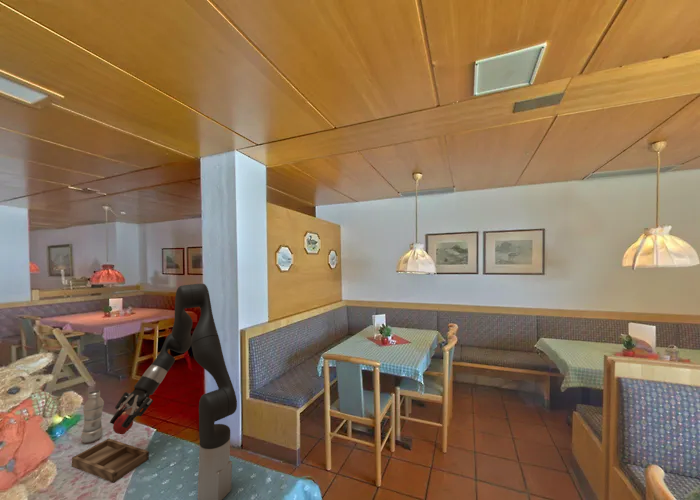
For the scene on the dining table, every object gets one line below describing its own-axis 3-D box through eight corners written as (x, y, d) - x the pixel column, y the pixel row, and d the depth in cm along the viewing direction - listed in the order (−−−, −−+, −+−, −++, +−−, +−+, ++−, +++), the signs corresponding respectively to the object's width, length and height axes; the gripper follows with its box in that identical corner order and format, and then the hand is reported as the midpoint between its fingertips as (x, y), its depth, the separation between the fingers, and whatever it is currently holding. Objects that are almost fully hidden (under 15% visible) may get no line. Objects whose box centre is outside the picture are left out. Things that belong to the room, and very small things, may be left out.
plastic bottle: (84, 437, 120) (87, 390, 120) (104, 433, 122) (107, 387, 123) (77, 447, 114) (80, 397, 114) (99, 442, 116) (101, 393, 117)
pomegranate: (121, 440, 101) (122, 417, 101) (108, 438, 102) (109, 415, 102) (136, 430, 106) (137, 409, 107) (124, 428, 108) (125, 407, 108)
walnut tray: (148, 459, 107) (148, 451, 107) (113, 482, 96) (114, 473, 96) (108, 445, 115) (108, 438, 115) (71, 466, 103) (72, 457, 103)
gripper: (132, 372, 114) (96, 418, 102) (158, 378, 110) (123, 426, 98) (145, 380, 119) (112, 424, 107) (170, 386, 114) (138, 432, 103)
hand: (118, 425), depth 103 cm, fingers closed on pomegranate, 5 cm apart
